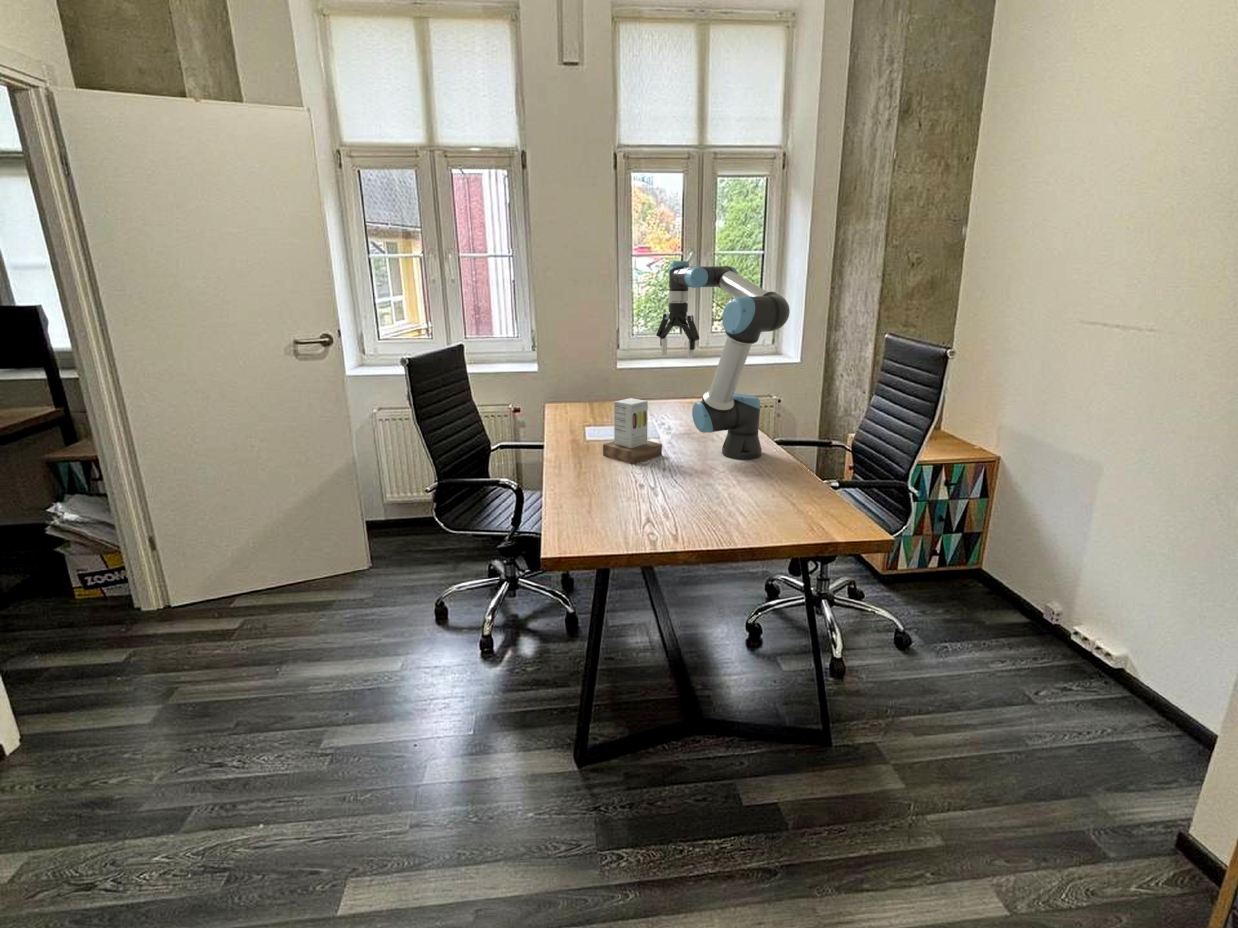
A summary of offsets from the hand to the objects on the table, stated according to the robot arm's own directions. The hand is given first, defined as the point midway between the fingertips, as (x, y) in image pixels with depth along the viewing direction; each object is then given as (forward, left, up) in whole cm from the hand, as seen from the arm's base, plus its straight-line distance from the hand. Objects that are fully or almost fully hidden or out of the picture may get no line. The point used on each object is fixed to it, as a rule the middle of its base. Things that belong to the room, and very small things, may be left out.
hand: (676, 356), depth 259 cm
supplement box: (-3, +30, -30) cm, 42 cm away
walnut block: (-3, +29, -35) cm, 46 cm away
